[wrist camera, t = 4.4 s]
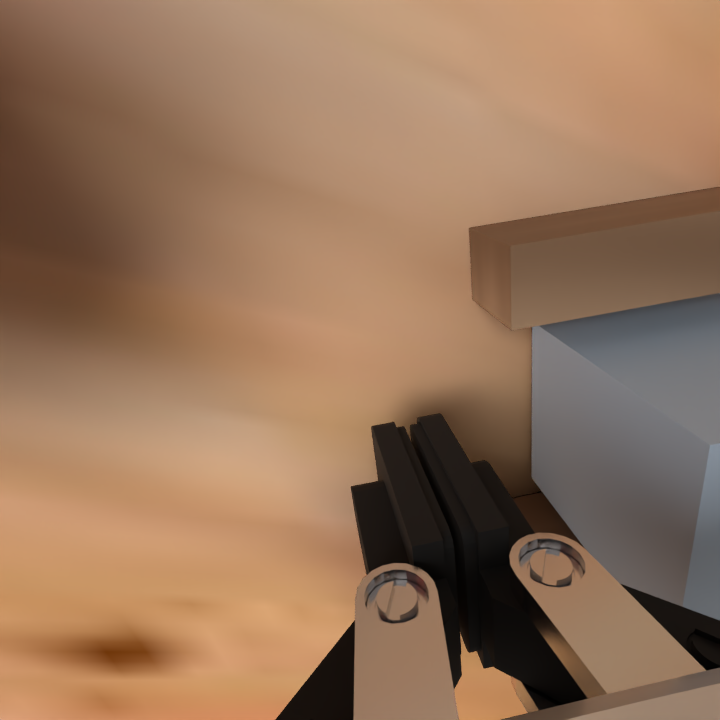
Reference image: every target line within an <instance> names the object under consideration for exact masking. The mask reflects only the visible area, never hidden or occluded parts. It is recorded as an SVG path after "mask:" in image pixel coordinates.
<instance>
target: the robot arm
mask: <svg viewBox="0 0 720 720" xmlns="http://www.w3.org/2000/svg"><path fill="white" fill-rule="evenodd" d="M371 429H372V438H373V445H374V452H375V460H376V467H377V474H378V481H376V482H371V483H366V484H361V485H356V486H351V492H352V498H353V504H354V510H355V516H356V522H357V528H358V533H359V538H360V544H361V549H362V554H363V559H364V564H365V569H366V574H367V575H366V576H365V577H364V578H363V580H362V581H361V583H360V585H359V586H358V588H357V593H356V598H355V621H354V622H353V623H352V624H351V626H350V627H349V628H348V629H347V631H346V632H345V633H344V634H343V636H342V637H341V638H340V639H339V641H338V642H337V643H336V644H335V646H334V647H333V648H332V649H331V651H330V652H329V653H328V654H327V656H326V657H325V658H324V659H323V661H322V662H321V663H320V665H319V666H318V667H317V668H316V670H315V671H314V672H313V673H312V675H311V676H310V677H309V678H308V680H307V681H306V682H305V683H304V685H303V686H302V687H301V688H300V690H299V691H298V692H297V693H296V695H295V696H294V697H293V698H292V700H291V701H290V702H289V703H288V705H287V706H286V707H285V708H284V710H283V711H282V712H281V713H280V715H279V716H278V717H277V718H276V720H459V718H458V712H457V706H456V700H455V693H454V688H455V687H456V685H457V683H458V681H459V679H460V677H461V676H462V672H461V658H460V655H461V641H460V633H461V636H462V638H463V641H464V644H465V646H466V649H467V651H468V652H469V653H470V652H474V651H477V652H478V655H479V657H480V660H481V663H482V665H483V668H489V667H493V666H494V667H495V668H496V669H498V670H500V671H502V672H504V673H506V674H508V675H510V676H511V682H512V685H513V687H514V689H515V692H516V694H517V696H518V697H519V699H520V701H521V702H522V704H523V706H524V707H525V709H526V711H527V712H528V713H526V714H522V715H518V716H514V717H510V718H506V719H502V720H720V620H717V619H714V618H712V617H709V616H706V615H704V614H701V613H698V612H695V611H693V610H690V609H687V608H685V607H682V606H679V605H677V604H674V603H671V602H669V601H666V600H663V599H661V598H658V597H655V596H652V595H650V594H647V593H644V592H642V591H639V590H636V589H634V588H631V587H628V586H626V585H623V584H620V583H619V582H618V581H617V580H616V579H615V578H614V577H613V576H612V575H611V574H610V573H609V572H608V571H607V570H606V569H605V568H604V567H603V566H602V565H601V564H600V563H599V562H598V561H597V560H596V559H595V558H594V557H593V556H592V555H591V554H590V553H589V552H588V551H587V550H586V549H585V548H583V547H582V546H581V545H580V544H578V543H577V542H576V541H574V540H571V539H569V538H567V537H565V536H562V535H558V534H553V533H535V532H534V531H533V529H532V528H531V526H530V525H529V523H528V522H527V520H526V519H525V517H524V516H523V514H522V513H521V511H520V509H519V508H518V506H517V505H516V503H515V502H514V500H513V499H512V497H511V496H510V494H509V493H508V491H507V490H506V488H505V487H504V485H503V484H502V482H501V481H500V479H499V478H498V476H497V475H496V473H495V471H494V470H493V468H492V467H491V465H490V464H489V463H488V462H487V461H485V460H483V461H478V462H473V463H470V461H469V459H468V458H467V456H466V454H465V453H464V451H463V449H462V448H461V446H460V444H459V443H458V441H457V439H456V438H455V436H454V434H453V433H452V431H451V429H450V428H449V426H448V424H447V423H446V421H445V419H444V418H443V416H442V415H441V414H440V413H439V414H434V415H428V416H423V417H418V418H417V424H413V425H410V435H411V441H410V439H409V436H408V434H407V432H406V429H405V427H404V426H402V427H396V425H395V423H394V422H391V423H386V424H380V425H375V426H372V427H371Z"/></svg>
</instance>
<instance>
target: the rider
mask: <svg viewBox="0 0 720 720" xmlns="http://www.w3.org/2000/svg"><path fill="white" fill-rule="evenodd" d="M532 479H533V480H534V482H535V483H536V484H537V486H538V487H539V488H540V490H541V491H542V492H543V494H544V495H545V496H546V498H547V499H548V500H549V502H550V503H551V504H552V506H553V507H554V508H555V510H556V511H557V512H558V513H559V515H560V516H561V517H562V519H563V520H564V521H565V523H566V524H567V525H568V527H569V528H570V529H571V531H572V532H573V533H574V535H575V536H576V537H577V539H578V540H579V541H580V543H581V544H582V545H583V547H584V548H585V549H586V550H587V551H588V552H589V553H590V554H591V555H592V556H593V557H594V558H595V559H596V560H597V561H598V562H599V563H600V564H601V565H602V566H603V567H604V568H605V569H606V570H607V571H608V572H609V573H610V574H611V575H612V576H613V577H614V578H615V579H616V580H617V581H618V582H619V583H620V584H623V585H626V586H628V587H631V588H634V589H636V590H639V591H642V592H644V593H647V594H650V595H652V596H655V597H658V598H661V599H663V600H666V601H669V602H671V603H674V604H677V605H679V606H682V607H685V608H687V609H690V610H693V611H695V612H698V613H701V614H704V615H706V616H709V617H712V618H714V619H717V620H720V293H716V294H711V295H705V296H700V297H694V298H689V299H683V300H678V301H672V302H667V303H661V304H656V305H650V306H645V307H639V308H634V309H628V310H623V311H617V312H612V313H606V314H601V315H595V316H590V317H584V318H579V319H573V320H568V321H562V322H557V323H551V324H546V325H540V326H535V327H532Z"/></svg>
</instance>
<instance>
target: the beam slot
mask: <svg viewBox="0 0 720 720" xmlns="http://www.w3.org/2000/svg"><path fill="white" fill-rule="evenodd" d="M469 235H470V257H471V279H472V299H473V300H474V301H475V302H476V303H478V304H479V305H480V306H481V307H483V308H484V309H485V310H486V311H488V312H489V313H490V314H491V315H493V316H494V317H495V318H496V319H498V320H499V321H500V322H501V323H503V324H504V325H505V326H506V327H508V328H509V329H510V330H511V331H513V330H518V329H524V328H529V327H535V326H540V325H546V324H551V323H557V322H562V321H568V320H573V319H579V318H584V317H590V316H595V315H601V314H606V313H612V312H617V311H623V310H628V309H634V308H639V307H645V306H650V305H656V304H661V303H667V302H672V301H678V300H683V299H689V298H694V297H700V296H705V295H711V294H716V293H720V187H716V188H710V189H703V190H697V191H691V192H685V193H679V194H673V195H667V196H661V197H655V198H648V199H642V200H636V201H630V202H624V203H618V204H612V205H606V206H600V207H594V208H587V209H581V210H575V211H569V212H563V213H557V214H551V215H545V216H539V217H532V218H526V219H520V220H514V221H508V222H502V223H496V224H490V225H484V226H477V227H471V228H469ZM512 499H513V500H514V502H515V503H516V505H517V506H518V508H519V509H520V511H521V513H522V514H523V516H524V517H525V519H526V520H527V522H528V523H529V525H530V526H531V528H532V529H533V531H534V532H535V533H553V534H558V535H562V536H565V537H567V538H569V539H571V540H574V541H576V542H577V543H578V544H580V545H581V546H582V547H583V545H582V544H581V543H580V541H579V540H578V539H577V537H576V536H575V535H574V533H573V532H572V531H571V529H570V528H569V527H568V525H567V524H566V523H565V521H564V520H563V519H562V517H561V516H560V515H559V513H558V512H557V511H556V510H555V508H554V507H553V506H552V504H551V503H550V502H549V500H548V499H547V498H546V496H545V495H544V494H543V492H541V493H536V494H531V495H526V496H521V497H517V498H512ZM583 548H584V547H583Z"/></svg>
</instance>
